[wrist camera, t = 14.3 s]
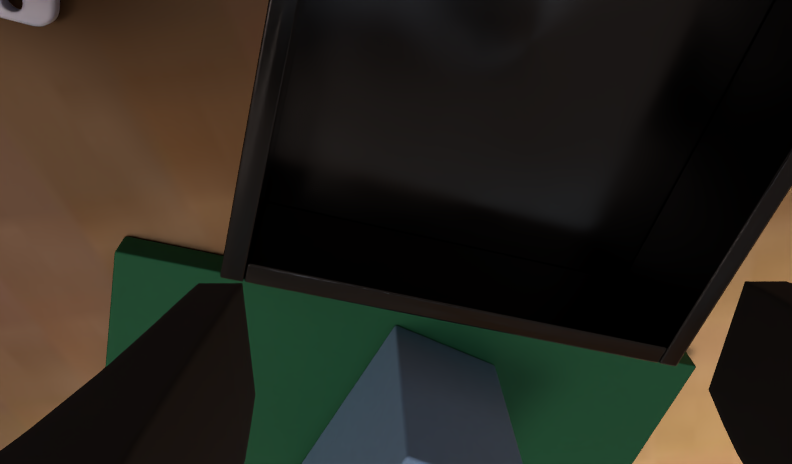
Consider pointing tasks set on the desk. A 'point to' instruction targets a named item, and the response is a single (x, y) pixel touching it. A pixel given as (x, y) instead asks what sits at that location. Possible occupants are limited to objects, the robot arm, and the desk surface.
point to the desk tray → (517, 161)
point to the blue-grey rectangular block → (420, 410)
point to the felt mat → (360, 341)
